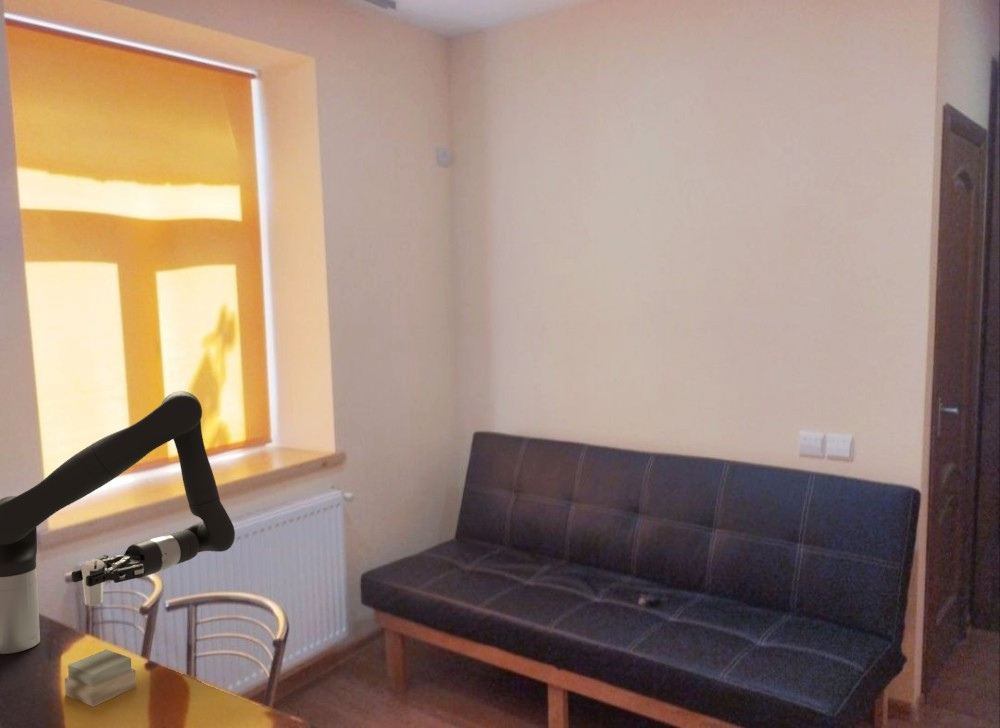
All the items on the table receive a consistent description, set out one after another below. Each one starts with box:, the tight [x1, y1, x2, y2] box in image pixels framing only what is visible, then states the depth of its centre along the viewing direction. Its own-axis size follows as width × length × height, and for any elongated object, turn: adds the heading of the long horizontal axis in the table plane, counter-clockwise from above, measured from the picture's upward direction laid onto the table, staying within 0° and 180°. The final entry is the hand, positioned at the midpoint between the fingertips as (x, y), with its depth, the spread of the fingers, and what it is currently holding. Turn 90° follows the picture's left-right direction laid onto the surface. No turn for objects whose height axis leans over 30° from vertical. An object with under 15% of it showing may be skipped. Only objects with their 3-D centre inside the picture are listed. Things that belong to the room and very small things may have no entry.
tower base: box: [64, 648, 137, 708], centre depth 156 cm, size 9×9×6 cm
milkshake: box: [79, 558, 105, 607], centre depth 165 cm, size 4×5×10 cm
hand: (80, 579), depth 162 cm, fingers closed on milkshake, 4 cm apart
